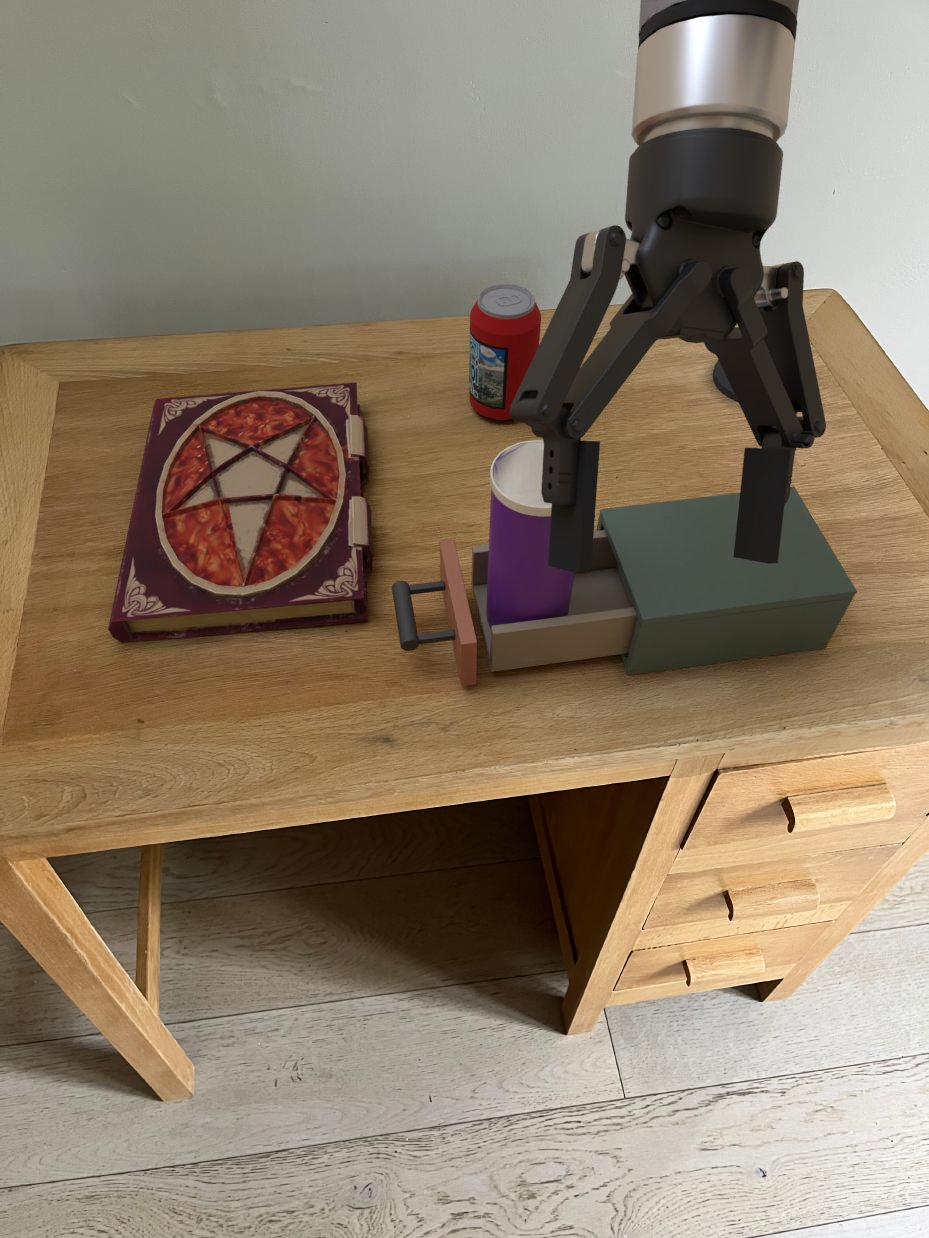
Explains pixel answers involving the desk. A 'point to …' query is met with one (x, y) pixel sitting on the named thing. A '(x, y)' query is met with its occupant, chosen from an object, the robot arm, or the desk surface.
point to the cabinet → (722, 584)
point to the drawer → (587, 632)
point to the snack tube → (522, 542)
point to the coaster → (722, 381)
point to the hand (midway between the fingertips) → (668, 565)
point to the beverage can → (501, 347)
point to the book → (248, 516)
